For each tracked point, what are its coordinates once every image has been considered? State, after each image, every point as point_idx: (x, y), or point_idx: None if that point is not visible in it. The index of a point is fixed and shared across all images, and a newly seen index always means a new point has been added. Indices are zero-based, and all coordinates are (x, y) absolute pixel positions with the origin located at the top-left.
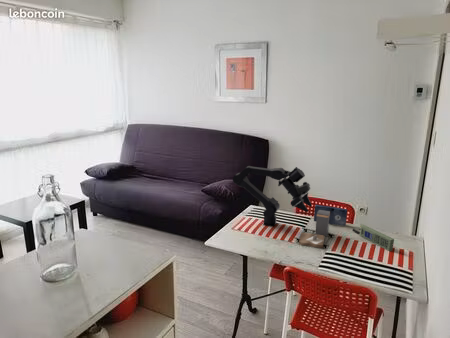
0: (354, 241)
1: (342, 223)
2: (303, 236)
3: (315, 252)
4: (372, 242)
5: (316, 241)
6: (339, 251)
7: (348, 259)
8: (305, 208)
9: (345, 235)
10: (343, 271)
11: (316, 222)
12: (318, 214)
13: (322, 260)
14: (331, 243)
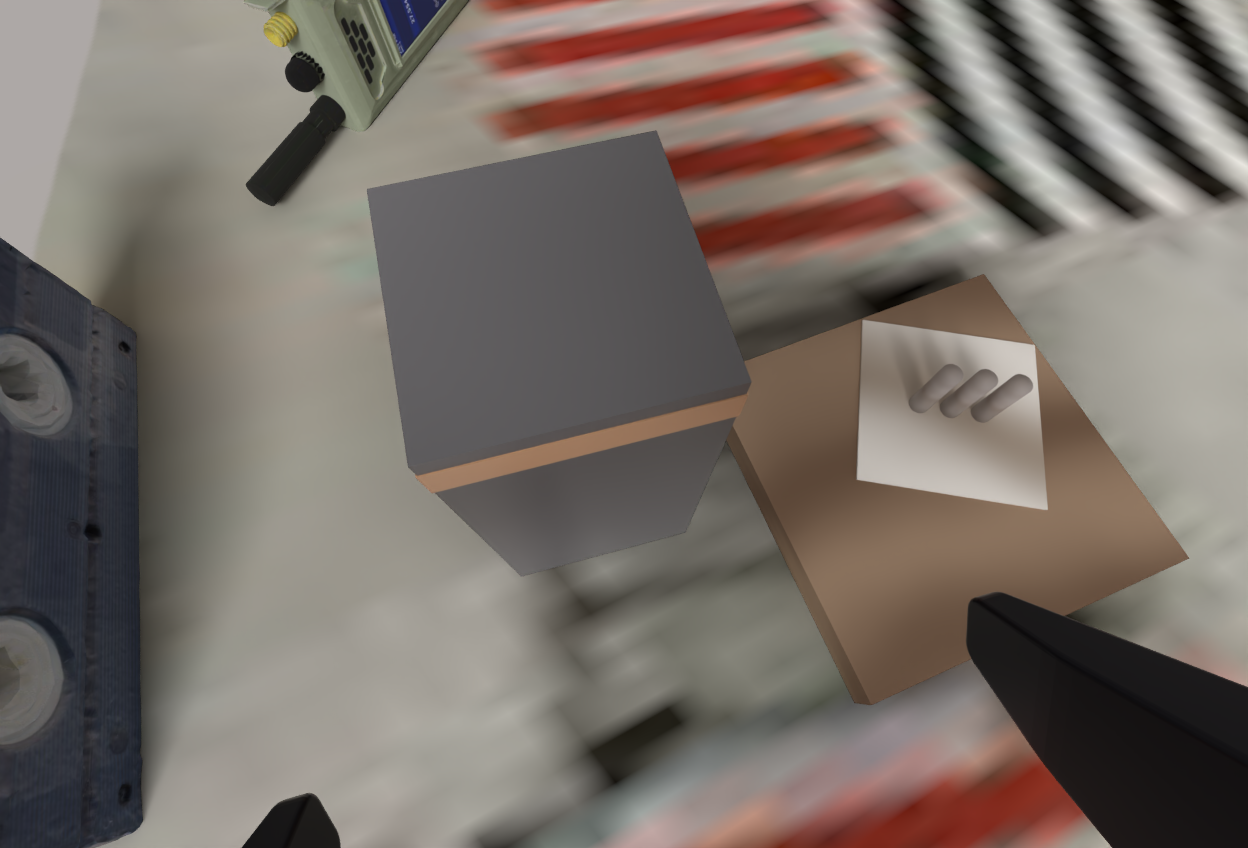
0: (544, 126)
1: (109, 351)
2: (979, 595)
3: (1126, 314)
4: (459, 11)
5: (966, 372)
6: (883, 154)
7: (960, 56)
8: (1201, 696)
9: None
10: (1182, 25)
11: (710, 466)
12: (732, 352)
13: (1199, 199)
14: (774, 273)
